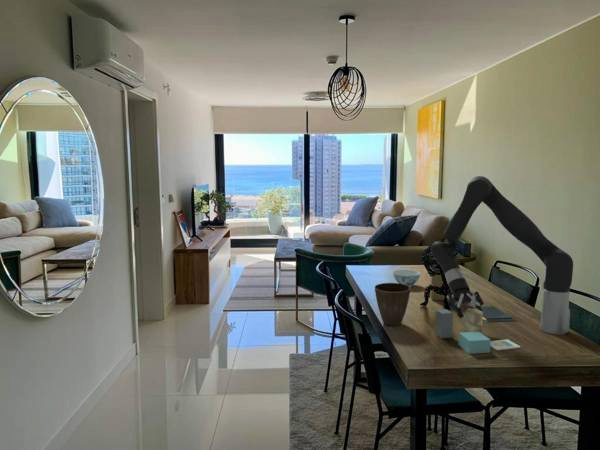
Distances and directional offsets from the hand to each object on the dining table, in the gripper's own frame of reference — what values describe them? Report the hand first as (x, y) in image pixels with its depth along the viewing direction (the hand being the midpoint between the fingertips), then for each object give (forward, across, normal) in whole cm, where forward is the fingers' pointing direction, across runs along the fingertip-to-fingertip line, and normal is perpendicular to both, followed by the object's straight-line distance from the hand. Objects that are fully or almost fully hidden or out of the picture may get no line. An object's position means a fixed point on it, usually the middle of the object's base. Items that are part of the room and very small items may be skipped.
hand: (471, 316), depth 174 cm
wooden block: (-28, +14, +38) cm, 49 cm away
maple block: (+6, 0, +4) cm, 7 cm away
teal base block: (+15, -8, -5) cm, 17 cm away
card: (+14, +4, -5) cm, 16 cm away
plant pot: (-8, -26, +18) cm, 33 cm away
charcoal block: (+5, -12, +5) cm, 14 cm away
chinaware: (-47, +8, +57) cm, 74 cm away
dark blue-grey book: (-8, +22, +19) cm, 30 cm away
